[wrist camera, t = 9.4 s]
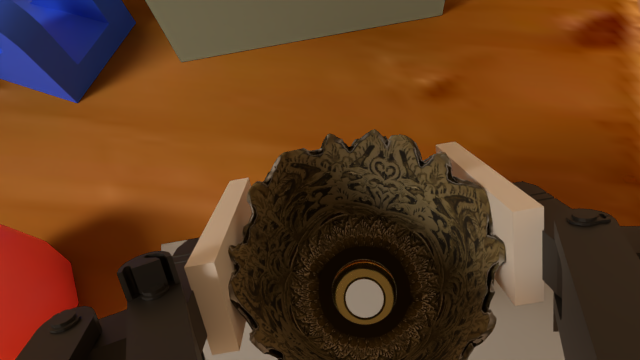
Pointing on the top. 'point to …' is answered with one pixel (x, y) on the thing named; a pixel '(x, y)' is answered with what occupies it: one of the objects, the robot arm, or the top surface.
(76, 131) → the top surface
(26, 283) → the apple
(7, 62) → the bracket
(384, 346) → the cup
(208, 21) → the toolbox
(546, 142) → the top surface
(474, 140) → the top surface
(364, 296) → the rubber mat
